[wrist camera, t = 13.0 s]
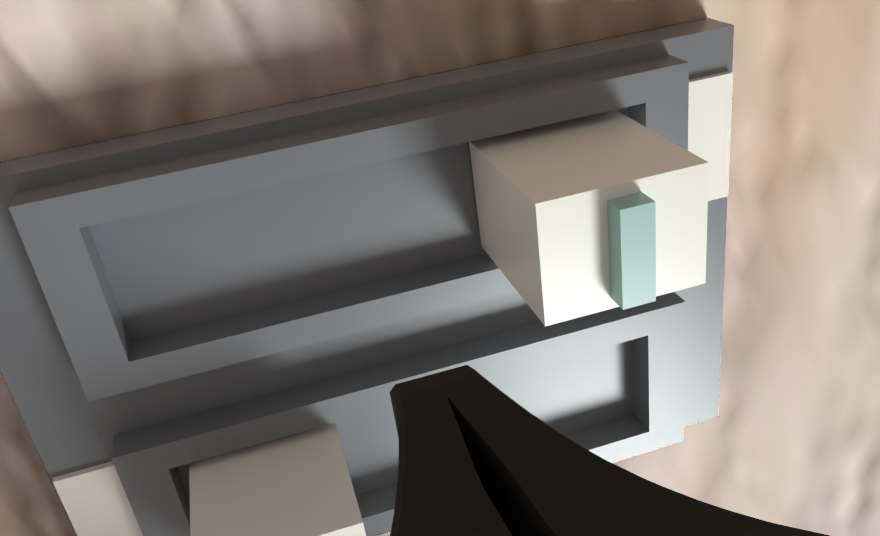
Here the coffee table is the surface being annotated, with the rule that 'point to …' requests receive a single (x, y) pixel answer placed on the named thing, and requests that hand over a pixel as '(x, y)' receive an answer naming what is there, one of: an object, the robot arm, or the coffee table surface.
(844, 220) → the coffee table surface
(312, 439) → the tab
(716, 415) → the switch bank
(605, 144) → the tab
